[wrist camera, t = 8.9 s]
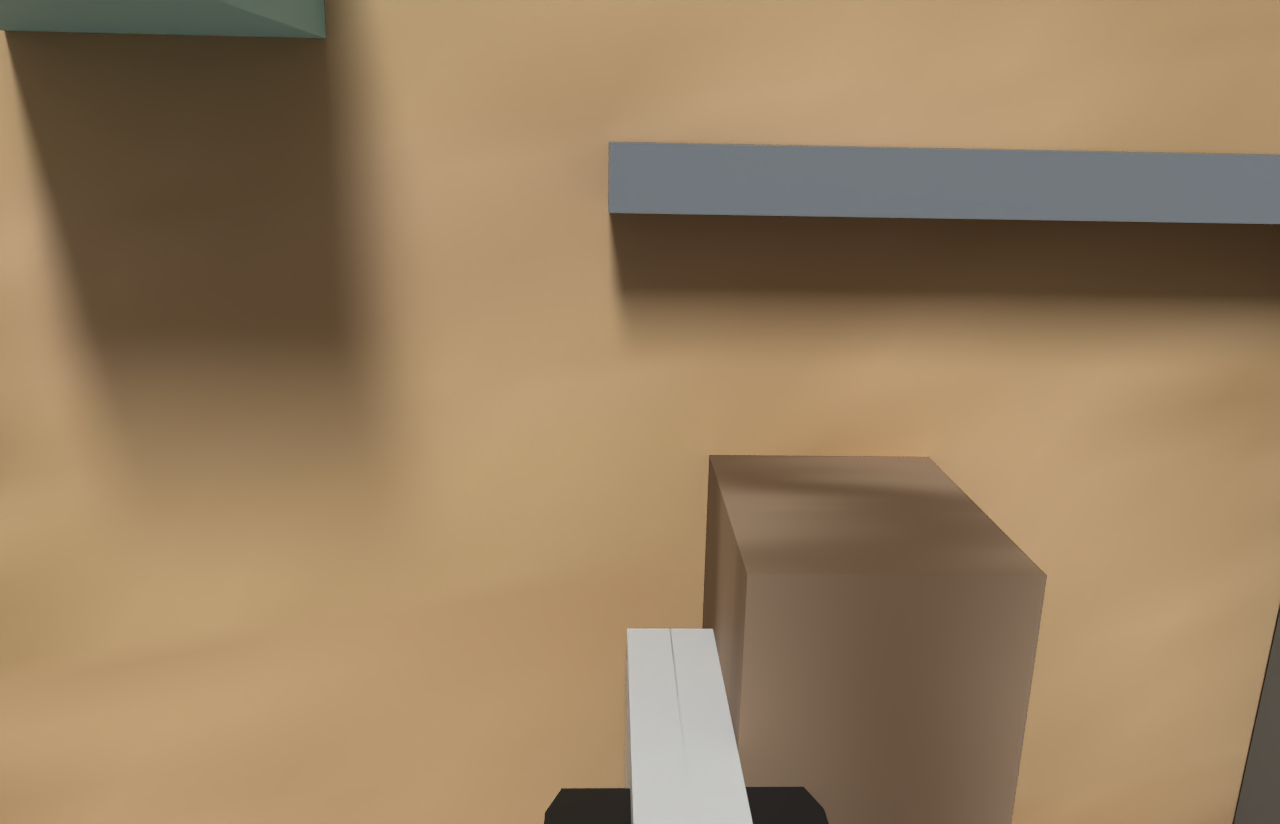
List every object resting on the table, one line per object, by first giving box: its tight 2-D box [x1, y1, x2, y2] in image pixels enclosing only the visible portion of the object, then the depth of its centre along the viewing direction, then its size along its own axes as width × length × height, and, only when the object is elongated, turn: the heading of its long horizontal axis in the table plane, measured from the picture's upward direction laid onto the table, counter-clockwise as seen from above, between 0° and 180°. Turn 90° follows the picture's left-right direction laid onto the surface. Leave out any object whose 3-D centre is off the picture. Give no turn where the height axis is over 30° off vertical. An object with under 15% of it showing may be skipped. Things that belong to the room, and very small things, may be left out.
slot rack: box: [608, 142, 1280, 824], centre depth 17 cm, size 14×28×2 cm, turn 179°
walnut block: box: [702, 455, 1047, 824], centre depth 16 cm, size 4×8×5 cm, turn 179°
